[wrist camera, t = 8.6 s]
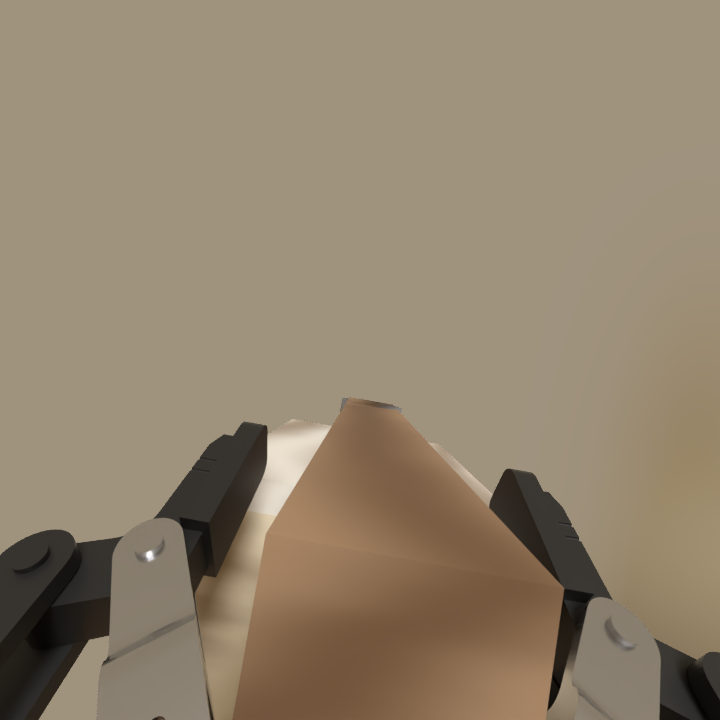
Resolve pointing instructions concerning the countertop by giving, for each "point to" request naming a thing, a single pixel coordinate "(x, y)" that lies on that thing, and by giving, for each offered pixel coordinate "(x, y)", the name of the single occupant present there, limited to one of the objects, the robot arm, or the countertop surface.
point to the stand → (242, 563)
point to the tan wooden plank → (395, 591)
